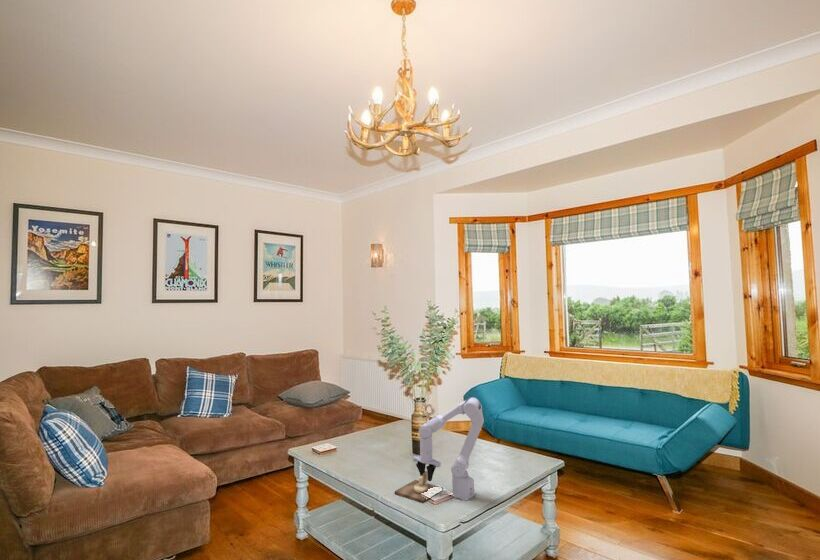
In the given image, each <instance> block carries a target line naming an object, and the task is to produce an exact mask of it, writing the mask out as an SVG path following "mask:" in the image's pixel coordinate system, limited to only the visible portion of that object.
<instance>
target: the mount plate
mask: <svg viewBox="0 0 820 560" xmlns="http://www.w3.org/2000/svg"><path fill="white" fill-rule="evenodd" d="M417 483H419V479H414V480H412V481H409V483H407V484H405V485H403V486H402V487H400V488H398V489H396V490H395V491H394V495H396V496H398V497H400V496H401V497H403V498H404V499H405V498H406V499H409V500H412V501H415V502H418V503H422V504H425V502H427V501H426V498H424V497H422V496H421V495H420V494H417V493H415V492H414V485H415V484H417ZM425 484H427V485H428V489H430V488H433V487H441V488H443V487H442V486H438V485H436V484H432V483H428V482H426V483H425ZM443 489H444V488H443Z"/></svg>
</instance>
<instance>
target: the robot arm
mask: <svg viewBox="0 0 820 560" xmlns="http://www.w3.org/2000/svg"><path fill="white" fill-rule="evenodd" d="M483 414H484V413H483V406H482V403H481V402H480V400H479V399H478V398H476V397H474V396H472V397H469V398H468V399H465V400H464V401H462V402H459V403H458V404H456V405H455V406H453V408H450V409H449V410H448V411H447V412H445V413H444V414H438V415H437V414H435V415H434V416H433V418H432V419H430V420H426V421H425V423H423V424H422V425H421V426H420V427H419V428H418V435H419V436H420V437H419V447H420V448H419V449H420V451H419V452H420V453H419V454H420V455H417V456H416V455H413V456H412V462H416V464H415V466H416V467H417V470H418V472H419V475H420V476H421V475H422V474H423V473H424V472H425V471H426V470H427V472H428V481H427V482H431V481H432V480H433V476H434V473H435V471H436V468H440V467H441V461H438V460H436V459H434V458H433V434H434V433H436V432H437V431H439V430H440V429H442V428H443V427H445V426H446V424H447V421H449V420H451V419H452V418H454V417H457V416H458V415H463V416H464V415H466V416H467V417H468V418H469V419H470V421H471V426H470V428H469V431H468V433H467V434H466V438H465V440H464V443H463V445H462V448H461V451H460V453H459V455H458V457H457V458H456V460H455V461H454V463H453V464H452V466H451V468H450V469H451V471H450V472H451V474H452V476H451V477H452V480H451V481H452V484H451V485H452V491H451V492H452V493H453V495H454V497H453V498H456V499H460V500H463V501H468V500H470V499H471V498H473V496H475V495H476V493H475V479H474V478H473V477H472V476H470V475H469V473H468V472H469V471H467V470H468V468H469V461H470V456H471V455H472V451H473V450H474V447H475V445H476V442H477V440H478V437H479V435H480V432H481V430H482V427H483V425H484V422H485V421H484V420H485V419H484V415H483ZM426 465H427V466H426ZM420 476H419V477H420Z"/></svg>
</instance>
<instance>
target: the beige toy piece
mask: <svg viewBox="0 0 820 560" xmlns="http://www.w3.org/2000/svg"><path fill="white" fill-rule="evenodd" d="M418 481H419V483H417V484H415V485H414V492H415V493H417V494H421V493H424V492H427V491H428V485H427V484H425V483H428V482H429V481H428V472H427V471H426V470H425V472H424V473H423V474H422V475H421V476H419V477H418Z"/></svg>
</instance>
